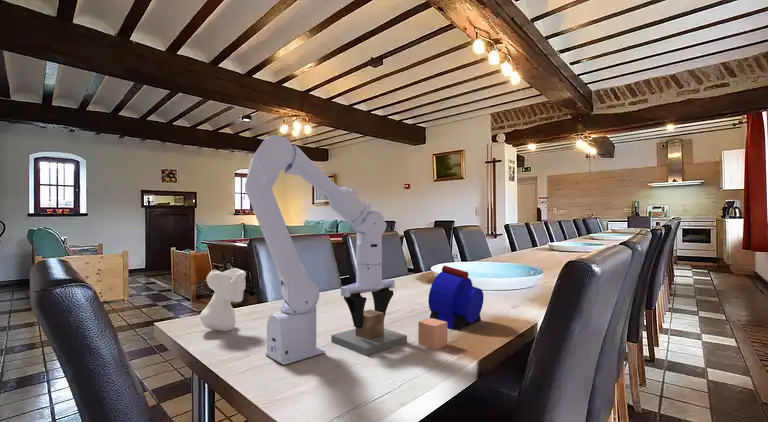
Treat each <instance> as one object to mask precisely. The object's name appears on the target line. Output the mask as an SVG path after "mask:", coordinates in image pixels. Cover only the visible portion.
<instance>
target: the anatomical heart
mask: <svg viewBox="0 0 768 422" xmlns="http://www.w3.org/2000/svg"><path fill="white" fill-rule="evenodd" d="M246 276H247V272H246V271H245V270H241V269H239V268H236V267H235V268H230V269H228V270H224V271H220V270H217V269H212V270H211V271H210V272H209V273H208V274H207V276H206V279H205V280H206V283H207V284H206V285H207V286H208V287H209V288H210V289H211V290H213V291H214V292H213V295H212V297H211V299H210V301H209V302H208V303H207V305H206V307H205V308H203V310H202V311H201V312H200V314H199V319H200V322H201V324H202V325H203V327H204V328H206V329H208V330H214V331H220V332H230V331H232V330H233V329H234V328H235V325H236V312H235V309H234V308H233V306H232V305H231V303H232V302H233V303H240V302H242V301H243V299H244V292H245V290H246V285H247V284H246Z"/></svg>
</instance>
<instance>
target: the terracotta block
mask: <svg viewBox="0 0 768 422" xmlns="http://www.w3.org/2000/svg"><path fill="white" fill-rule="evenodd" d="M417 330H418V333H417V334H418V335H417V336H418V340H417V341H418V342H417V343H418V345H419V346H421V347H422V346H423V347H426V348H428V349H431V350H434V351H435V350H438V349H440V348H443V347H445V346H448V328H447V322H445V321H441V320H437V319H433V318H430V317H429V318H427V319H424V320H421V321H418V328H417Z"/></svg>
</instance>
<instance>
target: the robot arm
mask: <svg viewBox="0 0 768 422" xmlns="http://www.w3.org/2000/svg"><path fill="white" fill-rule="evenodd" d="M249 163H250V164H249V168H248V170H247V171H248V172H247V176H246V180H245V183H244V189H245V192H246V195H247V197H248V200H249V202H250V205H251V208H252V210H253V213H254V216H255V217H256V218H255V219H256V221H257V223H258V225H259V228H260V230H261V232H262V235H263V237H264V241H265V243H266V245H267V248H268V250H269V252H270V255H271V258H272V260H273V263H274V265H275V268H276V272H277V273H276V274H277V278H278V279H279V283H280V284H279V294H280V297H281V298H282V299H283V302H282V304H281V306H280V311H278V312H277V313H274V314H272V315H270V316H269V317H268V319H267V322H266V351H265V352H264V354H265V355H266V356H267V357H269V358H271V359H272V360H274V361H277V362H278V363H280V364H282V365H288V364H292V363H294V362H298V361H302V360H304V359H308V358H312V357H314V356H319V355H321V354H324V353H325V352H326V351H325V349H323V348H322V347H319V346H317V303H318V302H319V300H320V289H319V288H318V285H317V284H316V283H315V282H313V281H312V280H311V278H310V277H309V275H308V272H307V271H306V269H305V267H304V266H303V264H302V262H301V260H300V257H299V255H298V252H297V249H296V247H295V245H294V242H293V239H292V237H291V235H290V232H289V229H288V226H287V225H286V221H285V219H284V216H283V214H282V210H281V209H280V207H279V204H278V201H277V199H276V195H275V193H274V191H273V186H274V185H275V184H276V182H277V179H278V178H279V175H280V174H281V173H282V172H283V170H284V172H283V174H285V175H291V176H292V175H294V176H299V177H301V178H302V179H303V180H304V181H306V182H307V183H308V184H310V186H312V187H314V188H315V189H317V191H318V192H320V193H321V194H323V195H324V196H325V197H326V198H327V199H328V203H329V207H330V208H331V209H332V210H333V211H334V212H336V213H337V215H339V216H340V217H341V218H342V219H343V220H345V221H346V222H347V223H348V224H350V225H351V227H352V229H353V231H354V232H355V233H356V273H355V274H356V275H355V276H356V282H354V283H351V284H347V285H343V286H341V287H340V296H341V297H343V300H344V301H345V304H346V305H347V307H348V309H349V312H350V315H351V320H352V323H353V326H354V328H356V327H357V328H362V327H363V313H364V311H365V308H366V302H367V300H368V298H367V297H363V295H362V294H367V293H370V292H371V296H372V298H373V304H374V305H373V306H374V309H373V310H374V311H378V312H382V313H384V319H386V318H385V317H386V313H387V310H388V306H389V304H390V301H391V299H392V297H393V296H394V289H395V287H396V286H395V283H396V282H395V279H391V278H388V279H387V278H386V279H383V277H382V276H383V275H382V274H383V273H382V272H383V268H382V267H383V265H382V264H383V262H382V261H383V259H382V258H383V257H382V256H383V255H382V254H383V251H382V249H383V246H382V244H383V243H382V241H383V239H382V237H383V234H384V232H385V231H386V229H387V227H388V225H387V222H385V219H384V218H385V217H384V216H383V215H382V213H381V212H379V211H377V210H372V205H371V204H370V203H366V202H364V200H362V199H361V198H360V197H359V196H358V195H357V190H355V189H354V188H349V187H347V186H341V187H339V186H338V185H337V184H336V183H335V182H334V181H333V180H332V179H331V178H330V177H329V176H328V175H327V174H325V172H324V171H323V170H322V169H321V168H319V167H318V165H316V164H315V163H314V162H313V161H312V160H311V159H310V158H309V157H308V156H307V155H306V154H305V153H304V152H303V151H302V149H301V148H300V147H298V145H295V144H292V142H291V141H290V140H289V139H288V138H287V137H285V136H284V135H283V136H282V135H279V134H275V135H270V136H268V137H266V138H265V139H264V140H262V142H261V143H260V145H259V146H258V148H257V149H256V151H255V152H254V154H253V155H252V156H251V158H250V161H249ZM392 289H393V290H392Z"/></svg>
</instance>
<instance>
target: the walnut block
mask: <svg viewBox="0 0 768 422" xmlns="http://www.w3.org/2000/svg"><path fill="white" fill-rule="evenodd" d="M384 328H385V318H384V313H382V312H378V311H375V309H368V310H367V309H366V310H364V313H363V327H362V328H357V327H355V329H356V336H359V337H362V338H364V339H367V340H371V339H374V338H377V337H381V336H384Z"/></svg>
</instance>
